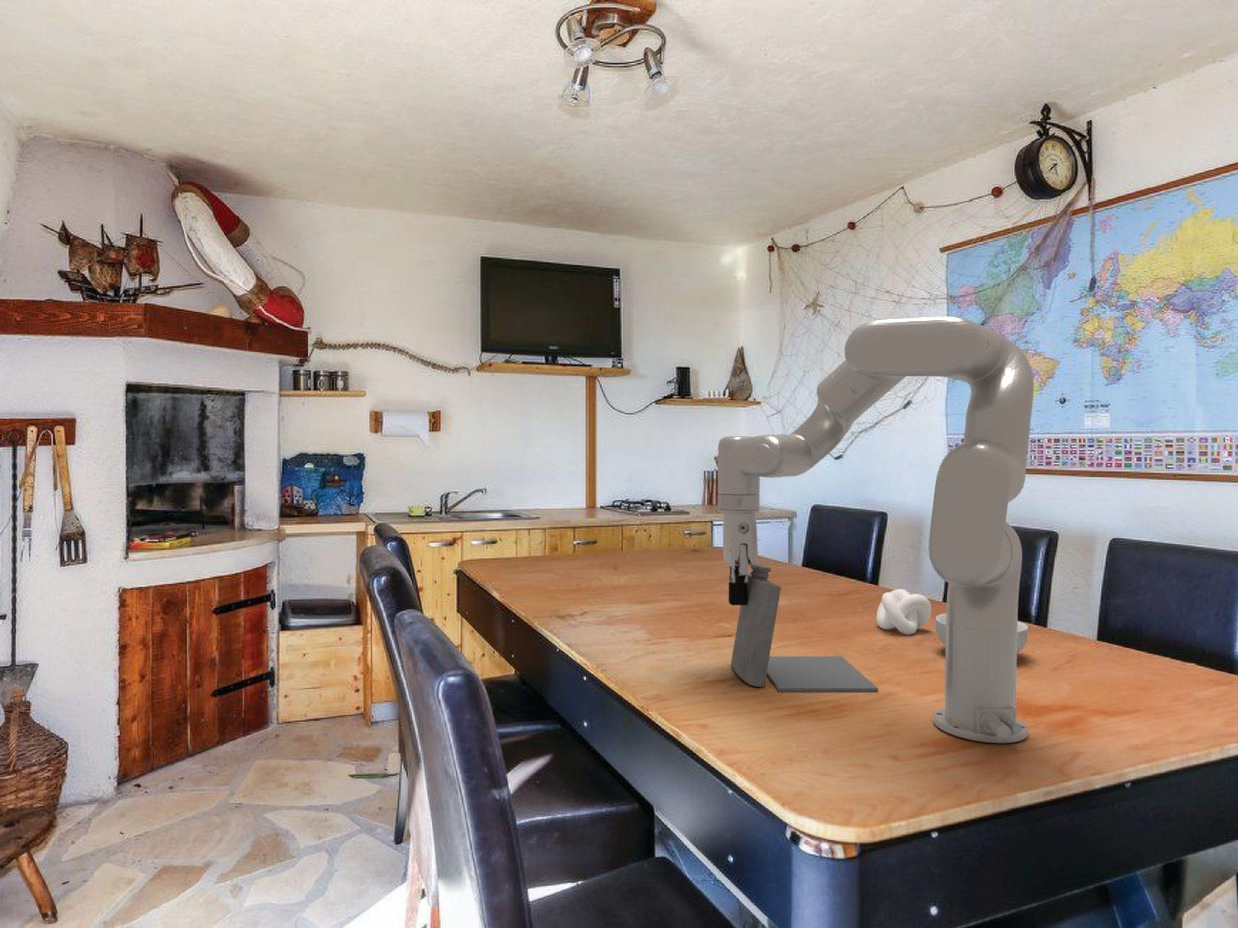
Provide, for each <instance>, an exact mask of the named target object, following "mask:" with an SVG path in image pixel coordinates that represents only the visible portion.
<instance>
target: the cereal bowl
mask: <svg viewBox="0 0 1238 928" xmlns="http://www.w3.org/2000/svg"><path fill="white" fill-rule="evenodd" d="M934 622H935V624H934V625H935V632H936V635H937V637H938V639H939V640H940V641H941V642H942V644H943V645H945V646H946V613H941V614H939V615H937V616H935V621H934ZM1028 635H1029V627H1028V625H1027V624H1026V623H1023V622H1022V621H1021V622H1020V621H1019V620H1018V626H1017V654H1019V652H1021V651H1022V650H1023V649H1024V648H1025V647H1026V644H1027V640H1028V637H1029V636H1028Z"/></svg>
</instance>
